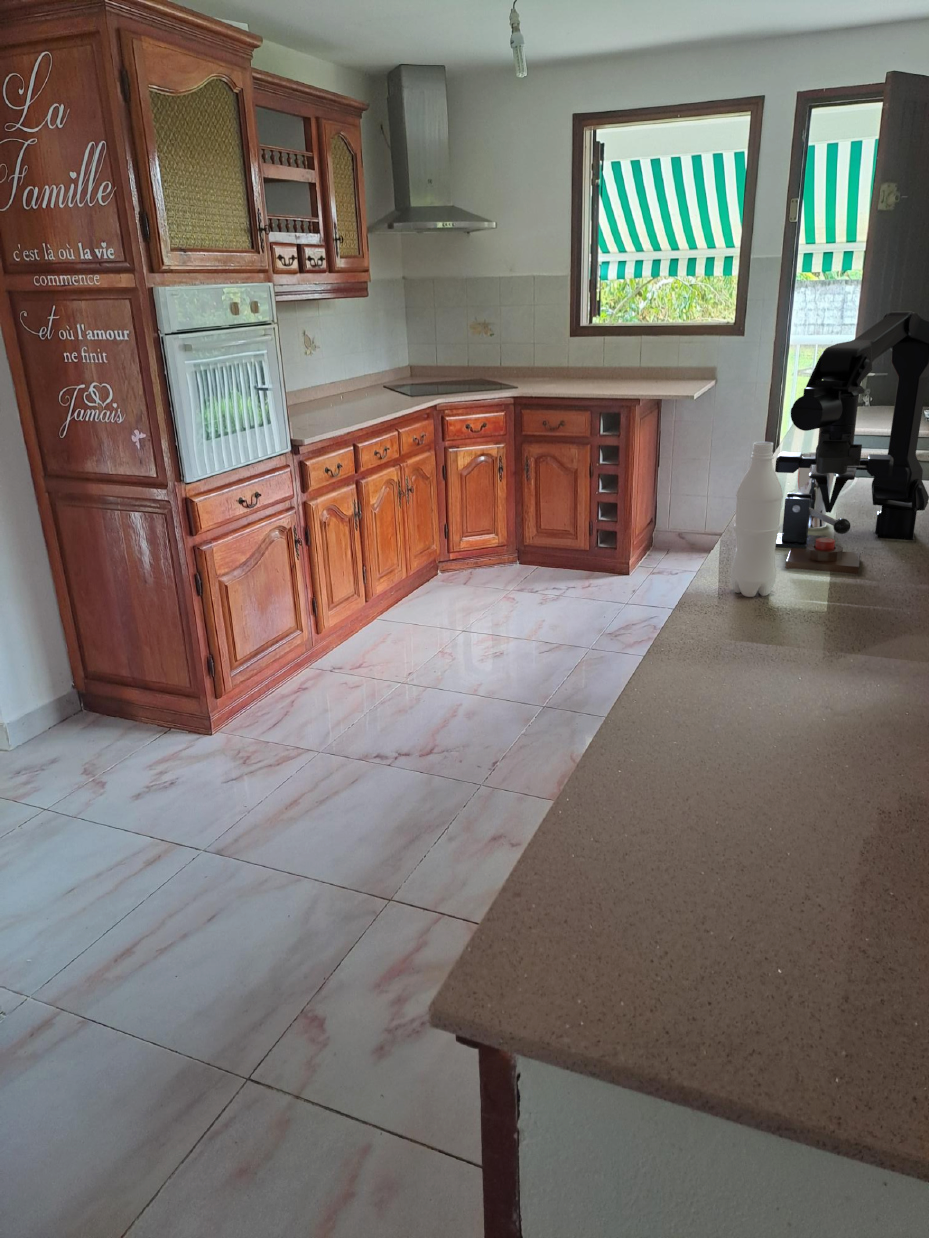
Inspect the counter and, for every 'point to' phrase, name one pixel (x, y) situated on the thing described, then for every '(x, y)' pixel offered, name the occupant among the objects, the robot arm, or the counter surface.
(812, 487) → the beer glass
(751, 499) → the water bottle
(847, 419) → the robot arm
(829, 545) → the red push button
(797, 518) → the black lever housing
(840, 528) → the lever with ball knob
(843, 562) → the control block
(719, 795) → the counter surface
